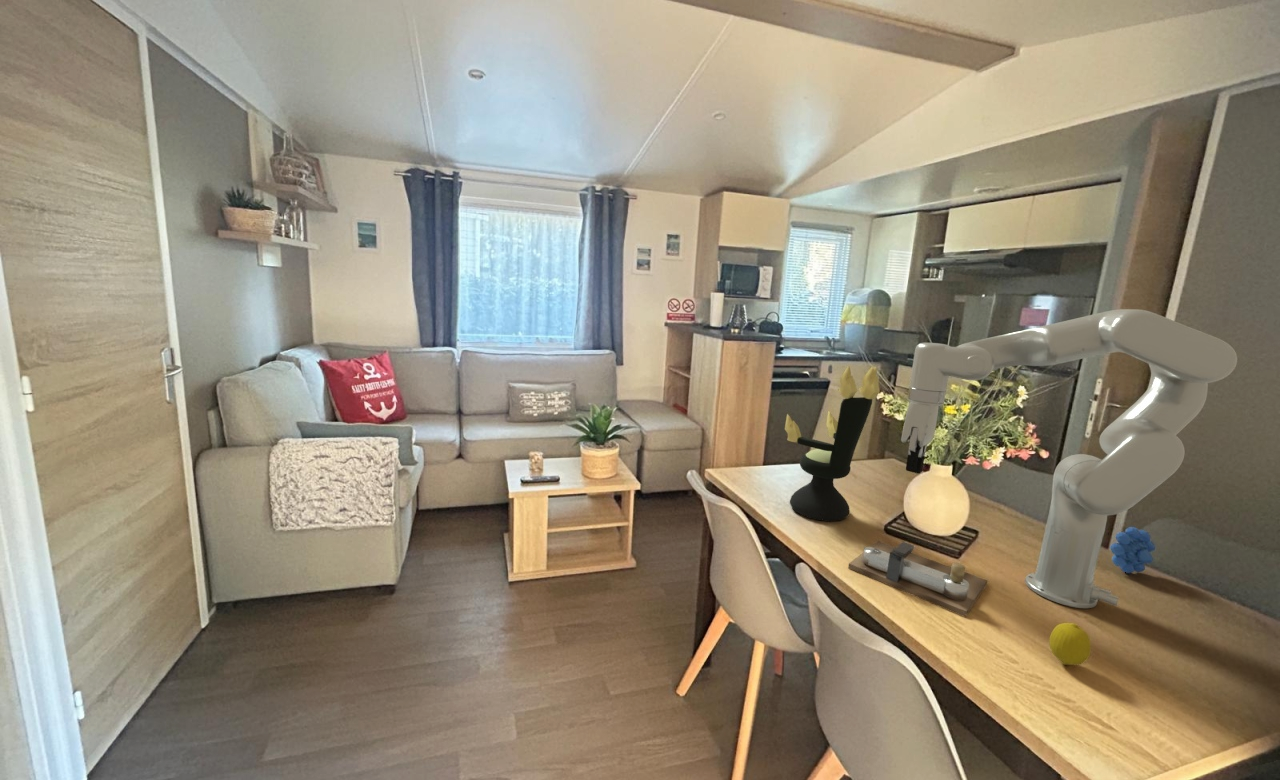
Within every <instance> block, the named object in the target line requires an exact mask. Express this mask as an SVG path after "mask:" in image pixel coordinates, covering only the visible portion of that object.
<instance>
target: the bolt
mask: <svg viewBox="0 0 1280 780" xmlns="http://www.w3.org/2000/svg"><path fill="white" fill-rule="evenodd" d="M863 552H864V554H863V560H862V561H863V563H864V564H866V565H868V566H871V567H874V568H876V569H879V570H882V571H884V572H887V569H888V563H889V556H890V553H887V552H884V551H881V550H879V549H876V548H872V547H871V546H867V547H864V549H863ZM901 578H903V579H905V580H908V581H910V582H913V583H916V584H918V585H921V586H924V587H926V588H929V589H931V590H934V591H937V592H939V593H942V594H944V595H945V596H947V597H949V598H952V599H955V600H966V599H967V594H968V589H969V583H968V582H967V581H966V580H965V579H963V582H956V581H953V580H952V579H950V575H949V574H946V573H943V572H940V571H938V570H935V569H932V568H929V567H926V566H924V565H921V564H918V563H915V562H912V561H910V560H907V559H904V562H903V568H902V574H901Z"/></svg>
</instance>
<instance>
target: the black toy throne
mask: <svg viewBox="0 0 1280 780" xmlns="http://www.w3.org/2000/svg"><path fill="white" fill-rule="evenodd" d="M877 368H878V367H877V366H874V365H872V366H871V368H869V369H868V371H867V372H866V373H865V375H864V376H863V377H862V378H861V380H862V381H861V383H862V386H861V387H859V388H857V385H856V382H855V379H854V377H853V375H852V372H851V368H850V365H847V367H846V369H845V370H844V372H843V373H842V375H841V376H840V378H839V381H840V382H839V383H840V387H839V388H838V389H837V390H838V391H839V394H840V395H841V396H842V397H843V399H842V400H841V403H840V408H839V415H838V418H837V419H838V420H837V419H836V418H835V417H834V416H833V415H832V414H831V412H830V410H828V412H827V417H826V422H825V423H826V424H825V425H826V428H827V430H828V436H829V437H830V438H832V439H834V441H833V444H832V443H830V442H825V441H821V440H817V439H813V438H809V437H805V436H802V434H801V430H800V427H799V425H798V424H797V423H796V422H795V420H792V418H791V416H790V415H789V414H788V413H787V414H786V420H785V425H784V430H785V432H786V434H787V438H786V441H788V442H792V443H797V444H798V445H801V446H805V447H809V448H813V449H811V450H809V451H808V452H806V453H804V454H803V455H802V456H801V457H800V459H799V465H800V468H801V469H802V470H803V472H805V473H807V474H808V475H811V476H812V477H811V480H810V482H809V483H807V484H806V485H803V486H802V487H800V488H798V489H797V490H796V491H794V493H793V494H792V495H791V496H790V499H789V504H790V507H791V508H792V510H794V511H795V512H796V513H798V514H800V515H801V516H803V517H806V518H810V519H813V520H817V521H824V522H839V521H843V520H844V519H846V518H847V517H848V516H849V515H850V512H851V511H850V505H849V503H848V501H847V500H846V498H845V497H844V495H843V494H841V493H840V492H839V490H838V489H837V488H836V487H835V484H834V480H836V479H837V480H838V479H843V478H845V477H847V476H848V475H849V474H850V472H851V464H852V461H853V457H854V454H855V450H856V448H857V445H858V442H859V440H860V438H861V435H862V433H863V429H864V427H865V424H866V422H867V419H868V416H869V415H870V411H871V407H872V404H873V399H875V398H876V397H877V395H878V394H879V393H880V385H879V375H877V373H878V369H877ZM858 391H859V393H860V394H861V396H862V397H854V396H855V395H856V394H857V392H858Z"/></svg>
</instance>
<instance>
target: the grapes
mask: <svg viewBox="0 0 1280 780" xmlns="http://www.w3.org/2000/svg"><path fill="white" fill-rule="evenodd" d="M1115 539H1116V542H1114V543H1112V544H1110V546H1109V547H1110V551H1111V554H1113V555H1112V557H1111V561H1112V563H1113V565H1114V566H1116V567H1119V568H1120V569H1121V571H1122V572H1124V573H1125V572H1126V573H1125V574H1131V573H1133V572H1137V573H1140V572H1143V571H1145V570H1146V565H1145V564H1151V563H1153V562H1154V556H1153V554H1152V553H1151V552H1154V551H1155V550H1156V545H1155V543H1154V542H1153V541H1152V540H1151V535H1150V533H1149V532H1148V531H1146V530H1144V529H1139V528H1137V527H1135V526H1129V527H1128V528H1126V529H1125V532H1124V531H1121V532H1117V533H1116V534H1115Z"/></svg>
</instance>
